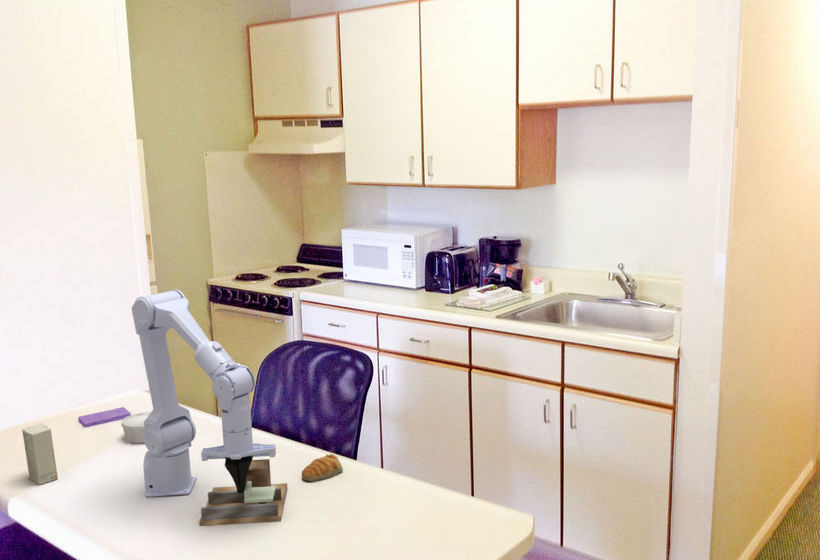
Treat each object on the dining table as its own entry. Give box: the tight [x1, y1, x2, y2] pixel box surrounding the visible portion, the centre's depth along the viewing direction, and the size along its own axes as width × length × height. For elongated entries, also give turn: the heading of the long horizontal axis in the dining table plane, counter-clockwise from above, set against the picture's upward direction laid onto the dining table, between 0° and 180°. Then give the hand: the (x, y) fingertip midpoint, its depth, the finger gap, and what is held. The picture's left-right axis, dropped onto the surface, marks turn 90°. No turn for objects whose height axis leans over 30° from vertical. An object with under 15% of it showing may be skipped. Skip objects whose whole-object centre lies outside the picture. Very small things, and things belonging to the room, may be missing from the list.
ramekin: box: [120, 411, 152, 445], centre depth 196 cm, size 11×11×5 cm
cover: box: [244, 481, 276, 503], centre depth 153 cm, size 6×6×2 cm
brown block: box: [246, 458, 272, 488], centre depth 161 cm, size 5×5×6 cm
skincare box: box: [21, 423, 59, 486], centre depth 171 cm, size 6×4×12 cm
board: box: [198, 482, 288, 527], centre depth 156 cm, size 16×15×3 cm
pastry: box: [301, 453, 343, 482], centre depth 170 cm, size 9×7×4 cm
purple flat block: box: [77, 406, 132, 428], centre depth 210 cm, size 7×13×2 cm, turn 126°
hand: (241, 490), depth 152 cm, fingers closed
